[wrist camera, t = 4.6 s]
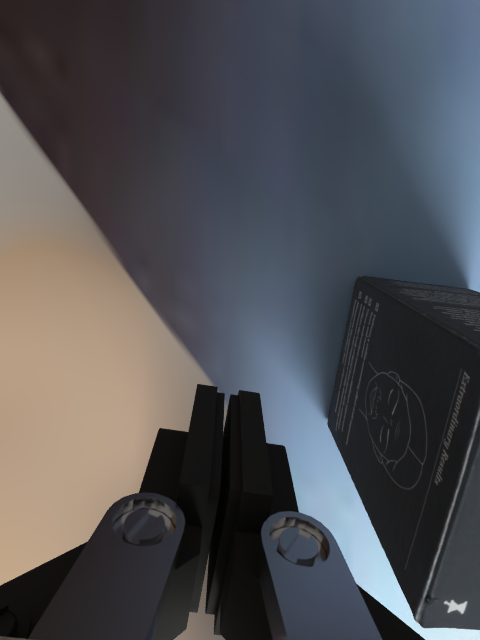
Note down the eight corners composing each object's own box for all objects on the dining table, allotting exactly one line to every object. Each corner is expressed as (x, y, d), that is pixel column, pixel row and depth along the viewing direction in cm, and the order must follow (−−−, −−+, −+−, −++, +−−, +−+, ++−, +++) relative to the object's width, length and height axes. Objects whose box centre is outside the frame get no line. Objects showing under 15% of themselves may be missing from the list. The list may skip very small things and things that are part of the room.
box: (431, 433, 22) (608, 645, 11) (324, 422, 21) (408, 631, 11) (473, 286, 19) (741, 386, 9) (354, 271, 19) (496, 359, 9)
